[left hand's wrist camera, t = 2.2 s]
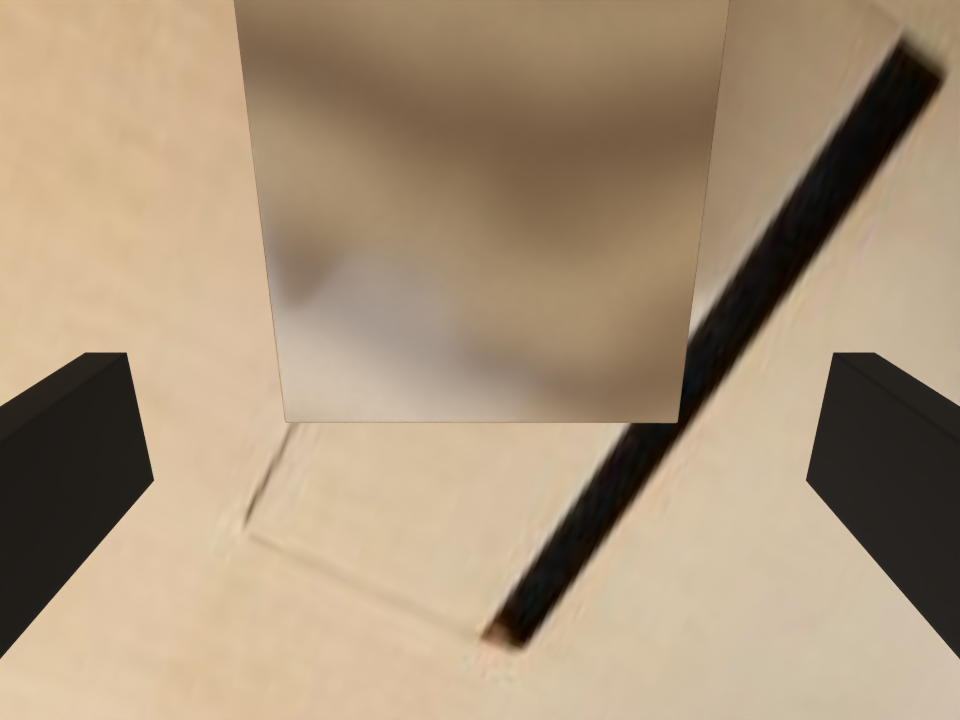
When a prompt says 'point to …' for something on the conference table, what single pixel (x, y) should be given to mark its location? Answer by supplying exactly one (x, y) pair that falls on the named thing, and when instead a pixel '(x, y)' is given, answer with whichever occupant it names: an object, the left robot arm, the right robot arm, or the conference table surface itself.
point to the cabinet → (481, 203)
